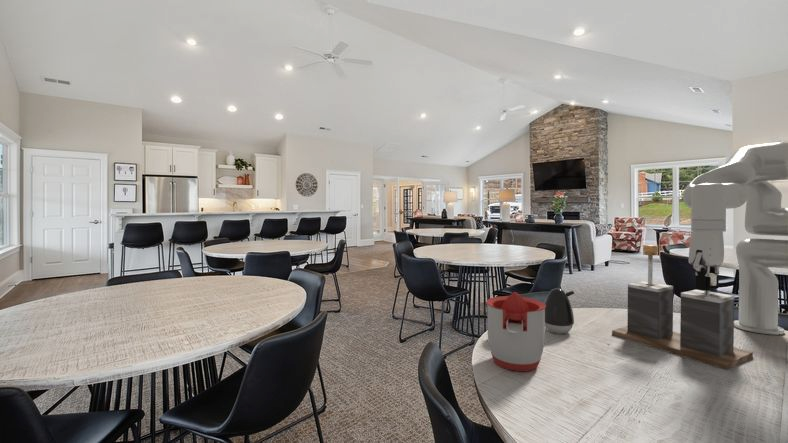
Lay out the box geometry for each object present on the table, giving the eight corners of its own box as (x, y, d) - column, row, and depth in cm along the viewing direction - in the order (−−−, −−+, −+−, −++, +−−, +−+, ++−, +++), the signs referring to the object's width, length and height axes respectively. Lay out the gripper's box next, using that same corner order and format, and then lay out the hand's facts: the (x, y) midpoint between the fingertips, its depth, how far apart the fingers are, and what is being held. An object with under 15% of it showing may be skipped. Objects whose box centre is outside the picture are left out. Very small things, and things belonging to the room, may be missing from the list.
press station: (639, 326, 126) (639, 278, 126) (752, 357, 100) (753, 296, 99) (612, 334, 119) (612, 283, 119) (727, 369, 92) (728, 303, 92)
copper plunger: (644, 303, 120) (644, 244, 120) (667, 307, 114) (668, 245, 114) (632, 305, 117) (633, 245, 117) (656, 310, 111) (656, 247, 110)
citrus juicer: (483, 373, 92) (482, 298, 91) (489, 349, 108) (488, 284, 107) (548, 383, 86) (548, 302, 86) (544, 355, 103) (544, 287, 102)
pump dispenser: (578, 337, 117) (578, 292, 116) (545, 335, 119) (545, 291, 119) (569, 327, 127) (569, 285, 126) (539, 325, 129) (539, 284, 129)
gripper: (705, 225, 109) (705, 283, 109) (677, 226, 101) (677, 289, 102) (738, 225, 102) (736, 288, 103) (710, 227, 94) (709, 295, 95)
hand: (707, 288), depth 102 cm, fingers closed on ivory plunger, 4 cm apart
